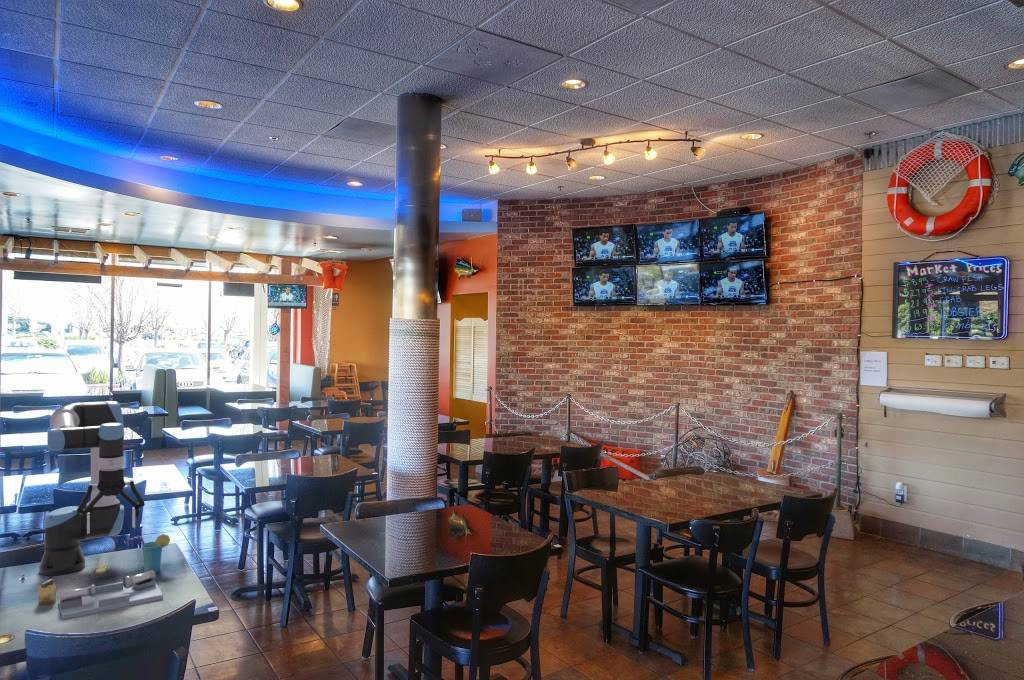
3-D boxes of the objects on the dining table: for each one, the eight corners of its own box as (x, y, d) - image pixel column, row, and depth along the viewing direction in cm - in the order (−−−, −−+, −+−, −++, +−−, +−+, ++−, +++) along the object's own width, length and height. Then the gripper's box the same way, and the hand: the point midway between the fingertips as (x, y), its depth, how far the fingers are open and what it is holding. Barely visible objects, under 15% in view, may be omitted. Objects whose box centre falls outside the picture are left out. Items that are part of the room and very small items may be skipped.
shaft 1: (59, 600, 236) (59, 588, 236) (94, 594, 242) (94, 582, 242) (60, 605, 233) (60, 592, 233) (95, 598, 239) (95, 586, 239)
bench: (58, 603, 241) (58, 593, 240) (154, 585, 259) (154, 575, 258) (62, 619, 229) (62, 608, 228) (162, 598, 247) (162, 588, 246)
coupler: (35, 605, 239) (34, 583, 239) (45, 599, 244) (45, 578, 244) (49, 605, 239) (49, 584, 239) (59, 599, 244) (59, 579, 244)
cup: (131, 578, 264) (131, 539, 264) (127, 572, 270) (127, 534, 270) (171, 571, 273) (171, 533, 272) (167, 565, 279) (167, 528, 278)
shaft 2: (122, 590, 249) (122, 575, 249) (149, 582, 257) (149, 567, 257) (129, 594, 246) (129, 578, 246) (157, 585, 255) (157, 570, 255)
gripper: (68, 474, 230) (68, 538, 231) (153, 467, 243) (152, 527, 244) (68, 469, 237) (68, 531, 238) (151, 463, 250) (151, 521, 251)
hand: (111, 529), depth 241 cm, fingers open, 13 cm apart
